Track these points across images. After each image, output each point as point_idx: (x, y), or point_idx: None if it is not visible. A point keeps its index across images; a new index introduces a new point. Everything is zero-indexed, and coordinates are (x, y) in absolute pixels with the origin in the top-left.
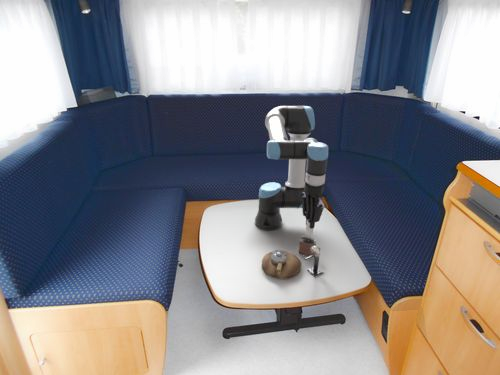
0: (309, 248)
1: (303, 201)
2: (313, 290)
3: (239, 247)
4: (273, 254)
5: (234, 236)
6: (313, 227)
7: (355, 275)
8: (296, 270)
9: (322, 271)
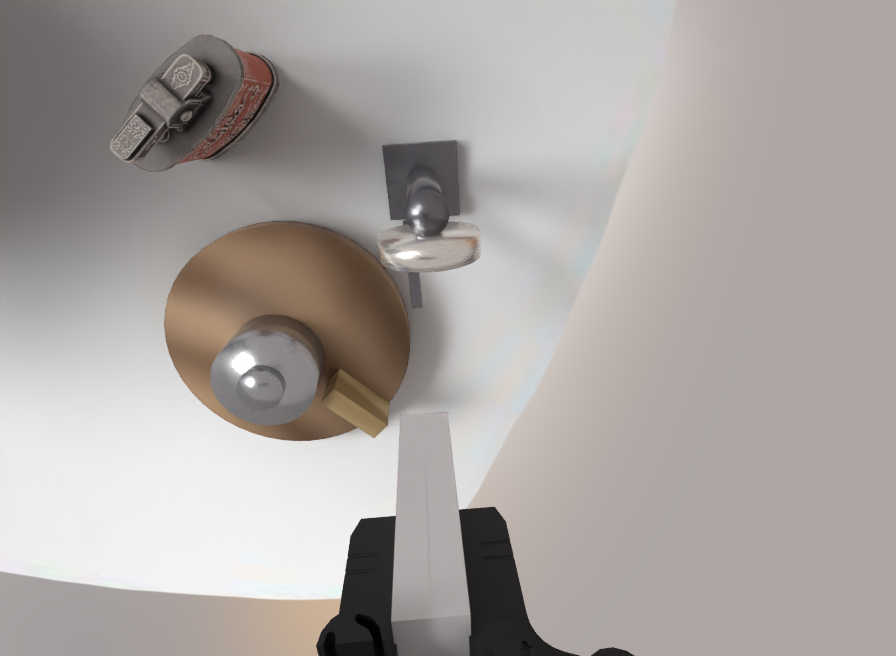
0: (236, 110)
1: None
2: (538, 285)
3: (53, 443)
4: (249, 410)
5: None
6: (504, 533)
7: None
8: (393, 309)
9: (452, 144)
